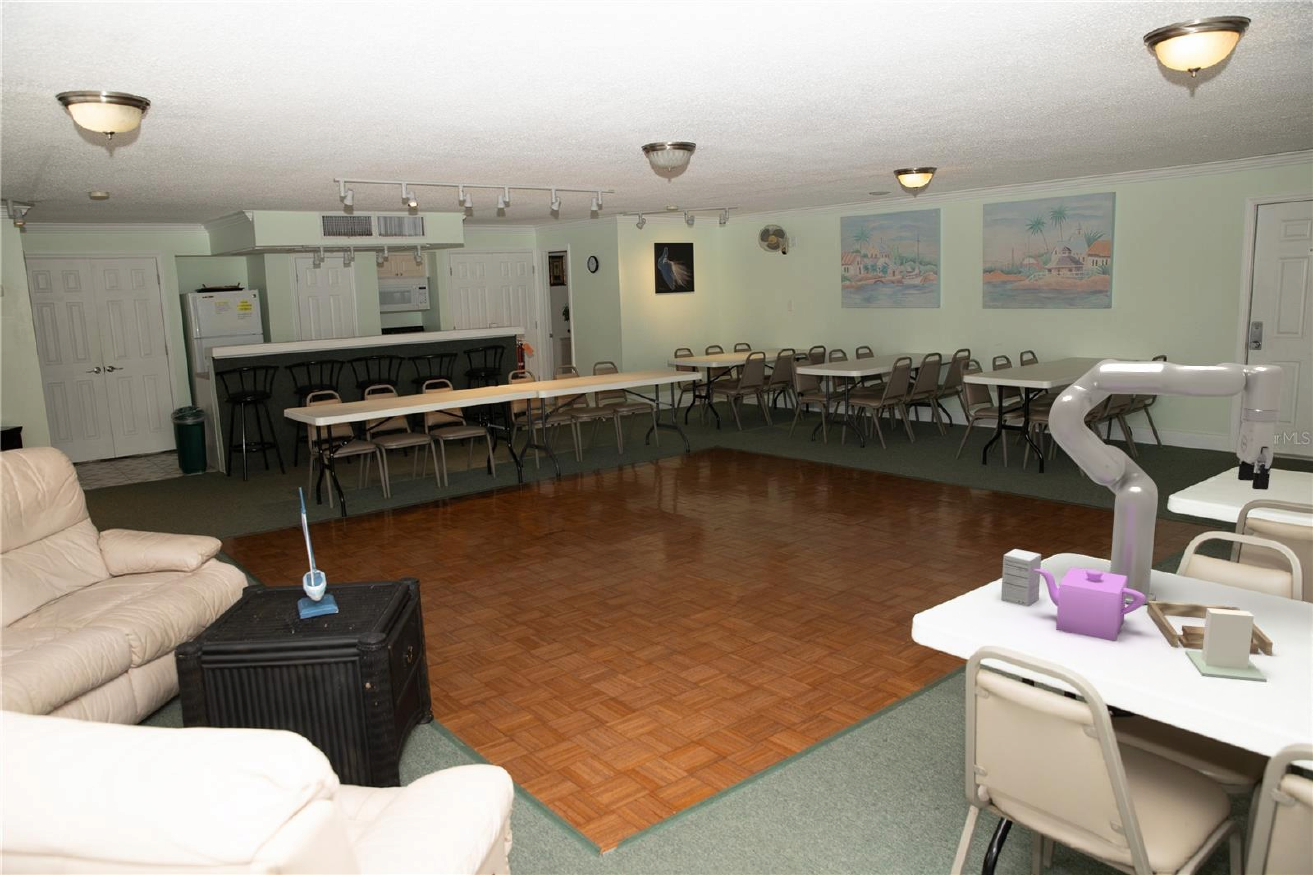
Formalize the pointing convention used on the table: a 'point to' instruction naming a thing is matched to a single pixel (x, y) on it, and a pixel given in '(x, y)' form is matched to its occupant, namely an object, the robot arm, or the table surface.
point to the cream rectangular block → (1227, 638)
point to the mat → (1225, 669)
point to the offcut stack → (1195, 638)
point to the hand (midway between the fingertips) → (1252, 484)
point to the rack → (1194, 610)
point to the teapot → (1091, 602)
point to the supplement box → (1021, 577)
